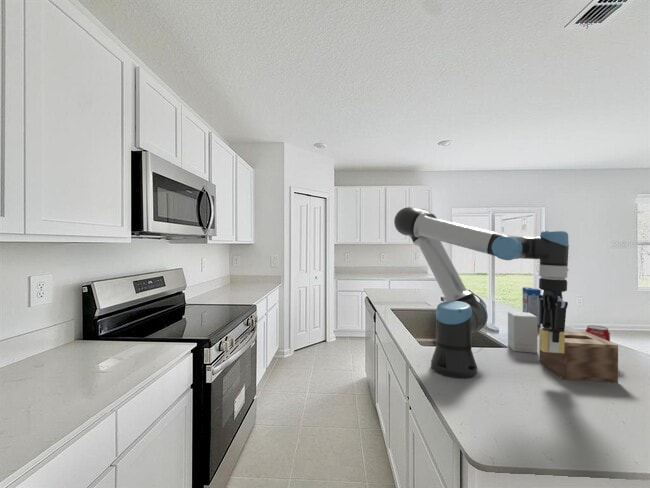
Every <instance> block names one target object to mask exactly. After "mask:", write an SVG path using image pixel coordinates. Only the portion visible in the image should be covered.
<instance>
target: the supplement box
mask: <svg viewBox="0 0 650 488" xmlns="http://www.w3.org/2000/svg"><path fill="white" fill-rule="evenodd" d="M507 346H508V347H509V348H510V349H511V350H512V352H513V351H514V352H521V353H522V352H523V353H535V354H538V327H537V317H536V316H535V315H533V314H531V313H527V312H523V311H522V312H520V311H508V312H507Z"/></svg>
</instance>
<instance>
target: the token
mask: <svg viewBox="0 0 650 488" xmlns="http://www.w3.org/2000/svg"><path fill="white" fill-rule="evenodd" d="M539 330H540V336H539V339H538V341H539V345H538V346H539V347H538V348H539V349H540V350H541V351H543V352H549V331H548V330H551V329H547V328H544V327H539ZM564 340H565V332H560V335H559V352H551V353H564ZM539 349H538V350H539Z"/></svg>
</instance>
